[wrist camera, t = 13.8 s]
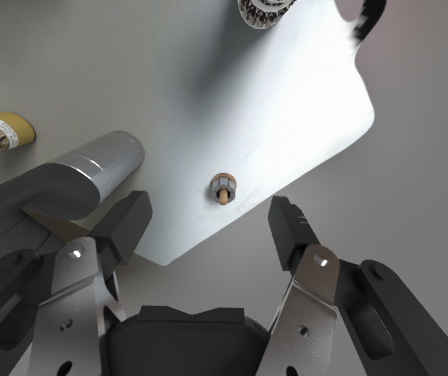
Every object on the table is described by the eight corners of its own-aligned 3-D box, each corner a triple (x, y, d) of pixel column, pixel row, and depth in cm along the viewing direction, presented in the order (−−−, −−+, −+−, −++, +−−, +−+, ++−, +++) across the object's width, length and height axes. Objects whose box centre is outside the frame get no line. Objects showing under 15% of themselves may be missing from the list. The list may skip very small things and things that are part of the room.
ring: (223, 198, 47) (222, 207, 44) (208, 185, 45) (206, 193, 41) (238, 186, 45) (239, 195, 41) (224, 172, 42) (223, 180, 39)
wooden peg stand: (216, 196, 48) (214, 215, 41) (207, 177, 44) (204, 194, 38) (239, 190, 47) (241, 209, 40) (232, 170, 43) (233, 186, 36)
